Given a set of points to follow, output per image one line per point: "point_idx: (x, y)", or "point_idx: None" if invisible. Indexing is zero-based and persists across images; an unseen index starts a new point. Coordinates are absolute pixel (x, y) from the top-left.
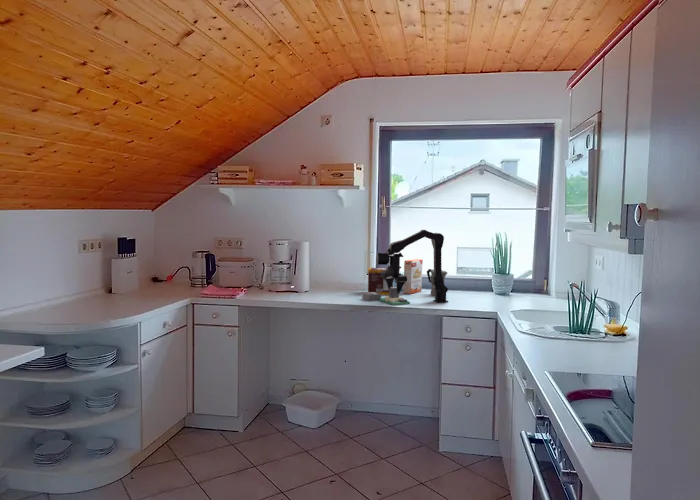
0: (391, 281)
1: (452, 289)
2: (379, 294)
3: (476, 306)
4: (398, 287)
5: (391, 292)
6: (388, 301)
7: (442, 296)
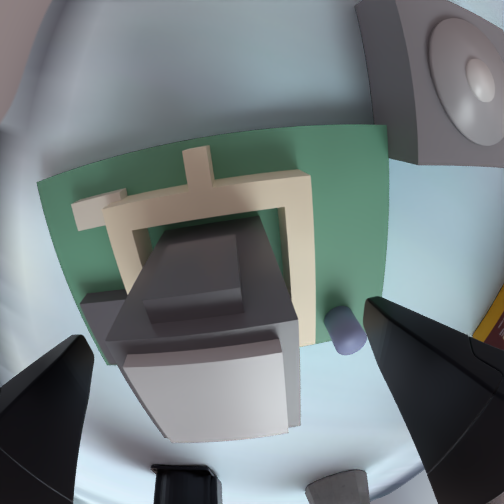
0: (445, 461)
1: (383, 491)
2: (416, 138)
3: (96, 485)
4: (6, 401)
5: (161, 268)
6: (141, 159)
7: (155, 496)
